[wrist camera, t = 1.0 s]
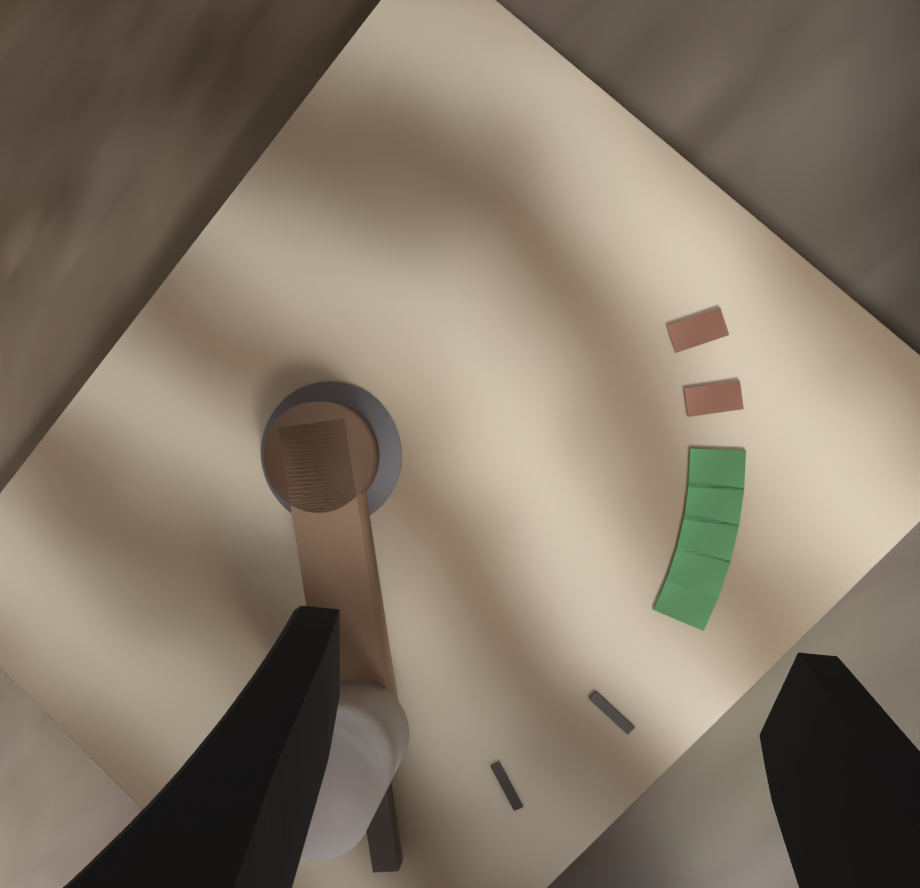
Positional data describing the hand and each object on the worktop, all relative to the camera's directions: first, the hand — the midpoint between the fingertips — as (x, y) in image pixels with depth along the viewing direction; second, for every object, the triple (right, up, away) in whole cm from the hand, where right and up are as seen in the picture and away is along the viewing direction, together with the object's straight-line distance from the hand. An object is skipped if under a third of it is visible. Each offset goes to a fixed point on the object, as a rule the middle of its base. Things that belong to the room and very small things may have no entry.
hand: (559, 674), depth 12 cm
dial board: (-3, +1, +12) cm, 13 cm away
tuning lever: (-5, -2, +11) cm, 12 cm away
